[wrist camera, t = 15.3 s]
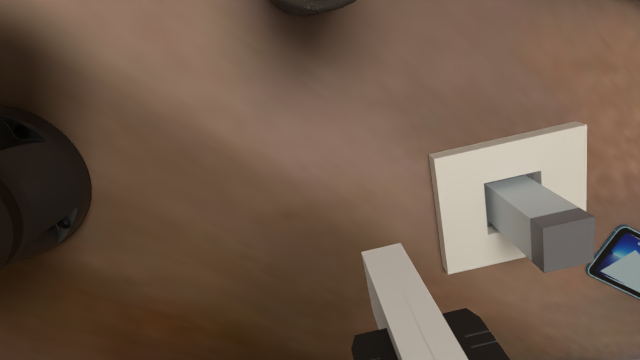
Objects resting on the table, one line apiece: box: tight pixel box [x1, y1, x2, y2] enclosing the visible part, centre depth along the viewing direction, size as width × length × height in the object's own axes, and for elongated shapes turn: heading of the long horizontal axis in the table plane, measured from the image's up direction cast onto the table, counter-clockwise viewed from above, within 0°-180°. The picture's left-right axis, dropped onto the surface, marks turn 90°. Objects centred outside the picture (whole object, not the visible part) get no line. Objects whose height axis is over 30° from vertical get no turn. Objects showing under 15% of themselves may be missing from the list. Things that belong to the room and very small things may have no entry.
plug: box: [485, 175, 595, 273], centre depth 41 cm, size 4×4×11 cm
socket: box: [429, 121, 587, 274], centre depth 46 cm, size 16×14×2 cm
